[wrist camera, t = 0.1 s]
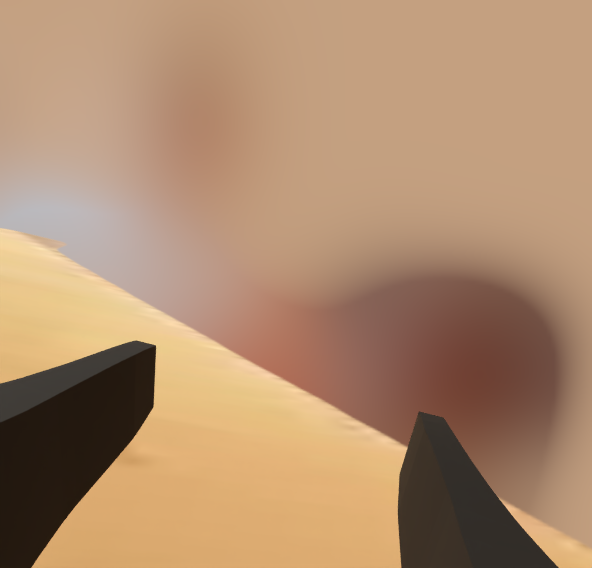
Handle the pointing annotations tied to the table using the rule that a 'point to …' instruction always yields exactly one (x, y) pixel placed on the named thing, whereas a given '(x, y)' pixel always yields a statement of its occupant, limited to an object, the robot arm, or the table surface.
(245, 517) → the table surface
